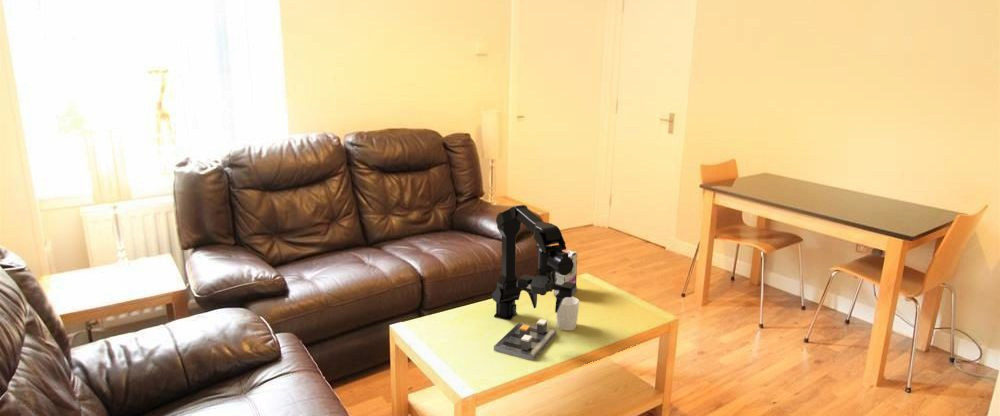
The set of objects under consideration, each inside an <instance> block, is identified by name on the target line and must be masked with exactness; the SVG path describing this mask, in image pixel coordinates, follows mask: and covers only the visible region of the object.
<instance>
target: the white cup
mask: <svg viewBox="0 0 1000 416" xmlns="http://www.w3.org/2000/svg"><path fill="white" fill-rule="evenodd" d="M579 306H580V300H579V298H577V297H574V296H572V297H570V298H569V297H566V298H564V299H563V301H562V303H561V305H560V307H559V310H558V312H557V313H556V327H557V328H558V329H559V330H560V331H561V330H562V331H568V332H569V331H574V330H575V329H576V328H577V323H578V322H577V321H578V316H579Z"/></svg>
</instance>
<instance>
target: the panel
mask: <svg viewBox="0 0 1000 416" xmlns="http://www.w3.org/2000/svg"><path fill="white" fill-rule="evenodd" d="M523 324H524V325H528V326H530V336H532V346H531V348H530V349H529V350H524V349H521V338H519V336H520V330H519V328H520V327H521V326H522V325H523ZM555 336H557V330H556V329H551V328H547V330H546V331H545V332H544V334H542V333H538V332H537V325H533V324H529V323H524V322H517V324H516V325H514V327H512V328H511V329H510V330H509V331H508V332H507V333H506V334H505V335H504V336H503V337H502V338H501V339H500V340H498V341H497V343H496V344H494V345H493V351H494V352H498V353H501V354H506V355H509V356H514V357H517V358H522V359H525V360H530V361H535V360H536V359H537V357H538V356H539V355H540V354H541V353H542V352H543V350H544V349H545V348H547V346H548V344H550V343H551V341H552V340H553V339H554V338H555Z"/></svg>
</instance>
